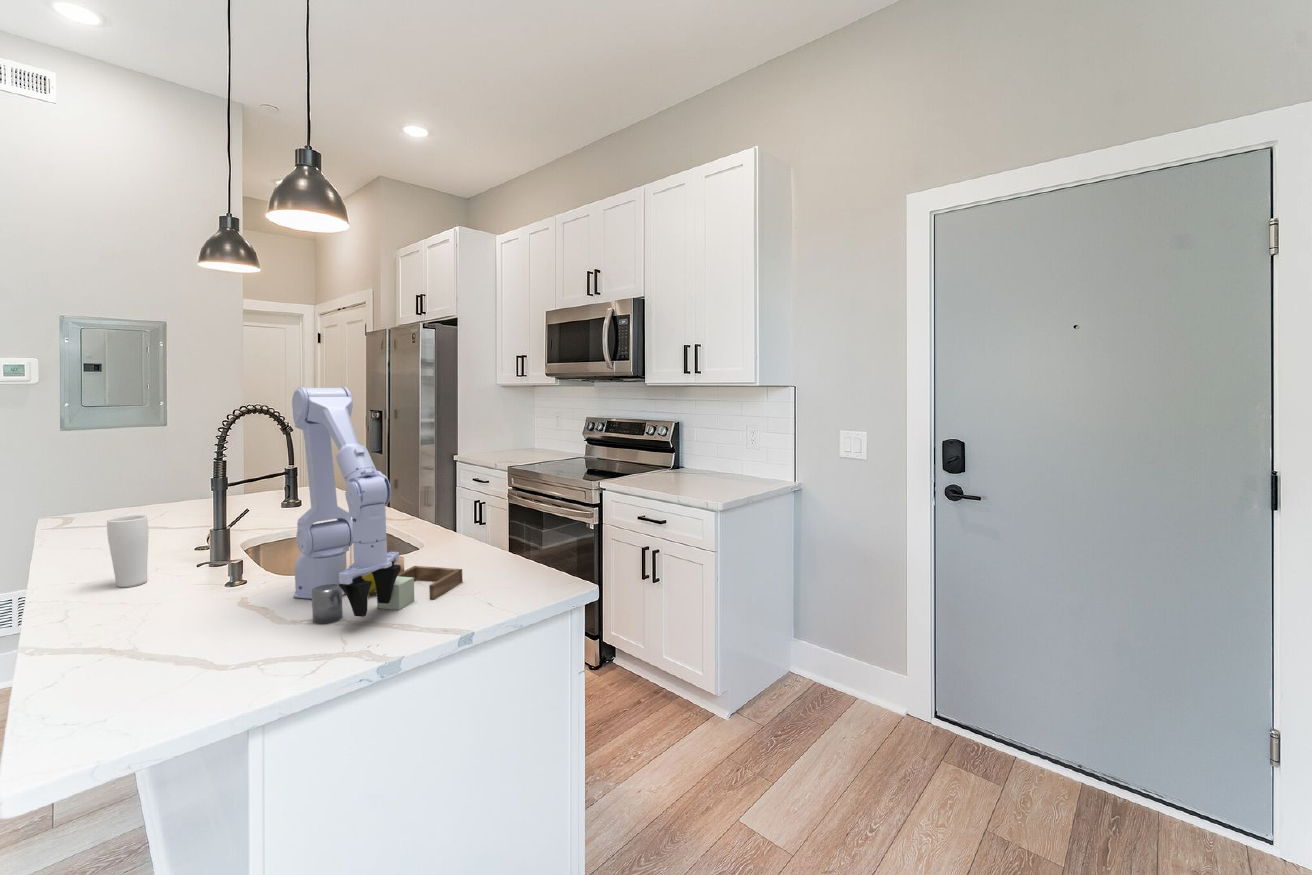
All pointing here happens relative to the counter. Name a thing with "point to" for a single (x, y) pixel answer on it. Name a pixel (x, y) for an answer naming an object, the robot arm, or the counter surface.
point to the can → (327, 604)
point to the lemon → (370, 578)
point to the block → (400, 594)
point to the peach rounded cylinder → (400, 563)
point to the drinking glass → (129, 549)
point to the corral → (435, 578)
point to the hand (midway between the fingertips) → (372, 609)
